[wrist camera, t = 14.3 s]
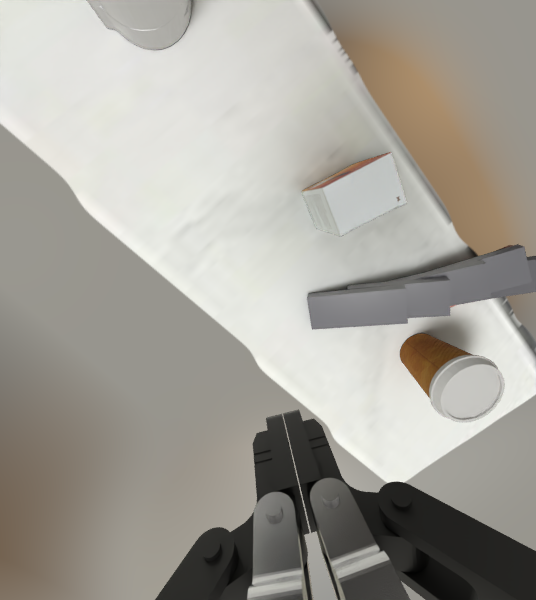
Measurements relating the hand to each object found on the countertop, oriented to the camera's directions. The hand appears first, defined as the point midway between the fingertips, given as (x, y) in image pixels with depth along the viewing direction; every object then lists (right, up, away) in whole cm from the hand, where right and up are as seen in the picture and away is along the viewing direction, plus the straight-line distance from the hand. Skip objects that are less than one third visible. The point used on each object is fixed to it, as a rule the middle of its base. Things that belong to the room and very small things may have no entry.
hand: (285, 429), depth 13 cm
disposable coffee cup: (+24, -3, +36) cm, 44 cm away
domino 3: (+17, +6, +32) cm, 36 cm away
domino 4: (+22, +7, +32) cm, 39 cm away
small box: (+8, +20, +28) cm, 35 cm away
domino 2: (+11, +5, +31) cm, 34 cm away
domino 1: (+6, +4, +31) cm, 32 cm away
